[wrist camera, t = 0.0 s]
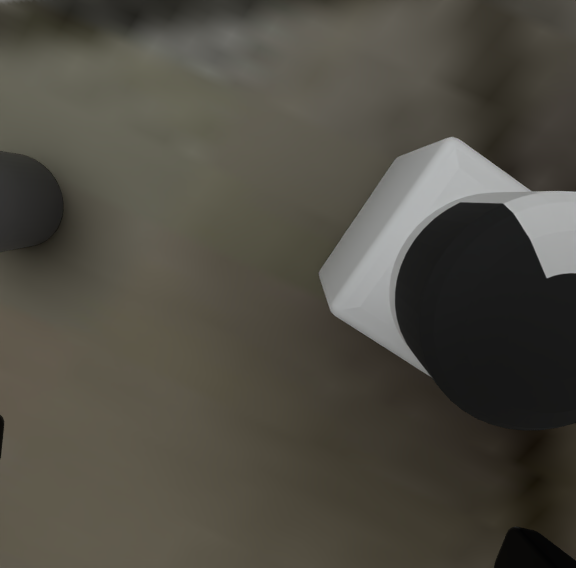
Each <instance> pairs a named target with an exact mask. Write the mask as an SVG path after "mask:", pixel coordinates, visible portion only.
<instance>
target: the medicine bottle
mask: <svg viewBox="0 0 576 568" xmlns="http://www.w3.org/2000/svg"><path fill="white" fill-rule="evenodd" d="M319 277H320V281H321V284H322V287H323V290H324V293H325V296H326V299H327V302H328V305H329V308H330V311H331V312H332V313H333V315H334V316H336V317H338V318H339V319H341V320H342V321H344V322H345V323H347V324H349V325H350V326H352V327H353V328H355V329H356V330H358V331H360V332H361V333H363V334H364V335H366V336H367V337H369V338H370V339H372V340H374V341H375V342H377V343H378V344H380V345H381V346H383V347H385V348H386V349H388V350H389V351H391V352H392V353H394V354H396V355H397V356H399V357H400V358H402V359H403V360H405V361H406V362H408V363H410V364H411V365H413V366H414V367H416V368H417V369H419V370H421V371H422V372H424V373H425V374H427V375H428V376H430V377H432V379H433V380H434V381H435V383H436V384H437V385H438V386H439V388H440V389H441V390H442V391H443V392H444V394H445V395H446V396H447V397H448V398H449V399H450V400H451V401H452V402H453V403H454V404H456V405H457V406H458V407H459V408H461V409H462V410H463V411H465V412H467V413H468V414H470V415H472V416H473V417H475V418H477V419H479V420H482V421H484V422H487V423H489V424H492V425H496V426H499V427H503V428H508V429H516V430H544V429H552V428H558V427H562V426H566V425H570V424H574V423H576V192H568V191H535V192H532V191H531V190H529V189H528V188H526V187H525V186H524V185H522V184H521V183H519V182H518V181H517V180H515V179H514V178H512V177H511V176H510V175H508V174H507V173H505V172H504V171H503V170H501V169H500V168H499V167H497V166H496V165H494V164H493V163H492V162H490V161H489V160H487V159H486V158H485V157H483V156H482V155H480V154H479V153H478V152H476V151H475V150H473V149H472V148H471V147H469V146H468V145H467V144H465V143H464V142H462V141H461V140H460V139H457V138H454V137H450V138H446V139H443V140H441V141H438V142H435V143H433V144H430V145H428V146H425V147H422V148H420V149H417V150H415V151H412V152H409V153H407V154H404V155H402V156H399V157H397V158H396V159H395V160H394V162H393V163H392V165H391V166H390V167H389V169H388V170H387V172H386V173H385V175H384V176H383V178H382V179H381V181H380V182H379V184H378V185H377V187H376V188H375V190H374V191H373V193H372V194H371V196H370V197H369V198H368V200H367V201H366V203H365V204H364V206H363V207H362V209H361V210H360V212H359V213H358V215H357V216H356V218H355V219H354V221H353V222H352V224H351V225H350V226H349V228H348V229H347V231H346V232H345V234H344V235H343V237H342V238H341V240H340V241H339V243H338V244H337V246H336V247H335V249H334V250H333V252H332V253H331V255H330V256H329V257H328V259H327V260H326V262H325V263H324V265H323V266H322V268H321V269H320V271H319Z"/></svg>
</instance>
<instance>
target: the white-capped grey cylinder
mask: <svg viewBox="0 0 576 568" xmlns="http://www.w3.org/2000/svg"><path fill="white" fill-rule="evenodd" d="M62 214H63V198H62V194H61V190H60V188H59V185H58V183H57V181H56V180H55V178H54V177H53V175H52V174H51V173H50V172H49V170H48V169H47V168H45V167H44V166H43V165H42V164H41V163H39V162H38V161H36V160H34V159H33V158H30V157H28V156H25V155H21V154H16V153H9V152H3V151H0V252H3V251H8V250H14V249H19V248H24V247H30V246H34V245H38V244H40V243H42V242H44V241H45V240H47V239H48V238H49V237H51V236H52V235H53V233H54V232H55V231H56V229H57V228H58V226H59V224H60V222H61V218H62Z"/></svg>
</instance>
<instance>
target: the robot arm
mask: <svg viewBox="0 0 576 568" xmlns="http://www.w3.org/2000/svg"><path fill="white" fill-rule="evenodd" d="M3 431H4V419H3V417H2V416H1V415H0V458H1V451H2V441H3ZM494 568H576V560H574V559H573V558H572V557H570V556H569V555H568V554H566V553H565V552H564V551H562V550H561V549H560V548H558V547H557V546H556V545H554V544H553V543H552V542H550V541H549V540H548V539H547V538H545V537H544V536H543V535H541V534H540V533H538V532H536V531H534V530H530V529H525V528H520V527H512V528H510V529H509V530H508V532H507V534H506V536H505V539H504V541H503V544H502V546H501V549H500V551H499V554H498V556H497V558H496V561H495V565H494Z"/></svg>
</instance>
